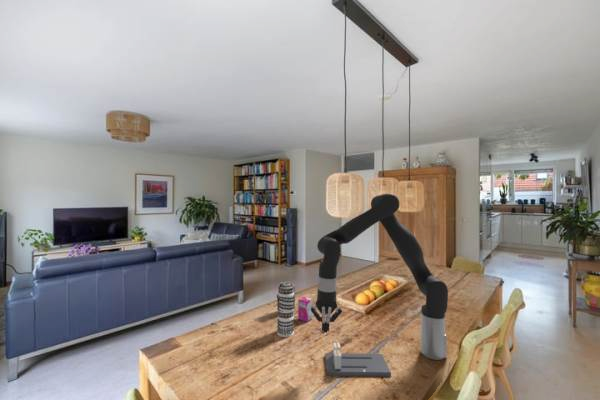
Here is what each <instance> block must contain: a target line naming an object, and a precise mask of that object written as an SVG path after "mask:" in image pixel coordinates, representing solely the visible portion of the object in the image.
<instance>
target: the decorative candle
mask: <svg viewBox="0 0 600 400" xmlns="http://www.w3.org/2000/svg"><path fill="white" fill-rule="evenodd" d="M294 285H295V284H293V283H292V282H291V281H281V282H280V284H278V285H277V287H278V288H279V291H277V294H276V299H277V301H276V302H277V303H276V305H277V306H276V307H277V312H278V314H277V319H276V320H277V324H276V325H277V326H276V331H277V335H278V336H279V337H283V338H289V337H291V336H293V335H294V334H295V316H294V308H296V302H295V303H293V302H294V301H296V295H295V296H294V291H293V290H294V288H293V287H294ZM294 298H295V299H294ZM278 304H279V305H278ZM294 305H295V307H294Z"/></svg>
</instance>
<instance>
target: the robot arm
mask: <svg viewBox="0 0 600 400" xmlns="http://www.w3.org/2000/svg"><path fill="white" fill-rule="evenodd" d="M399 208H400V199H399V198H398V197H397V195H395V194H393V193H383V194H379V195H376V196H374V197H373V198H372V199H371V203H370V208H369V209H368V210H366V211H365V212H363V213H361V214H359V215H357V216H355V217H353V218H352V219H350V220H348V221H347V222H346V223H344V224H343V225H341V226H340V227H339V228H337V229H335V230H333V231H330V232H329V233H327V234H325V235H323V236H322V237H321V238H319V240H318V242H317V250H318V251H319V253H321V254H322V255H323V260H322V261H320V262H319V266H318V267H319V268H318V279H317V292H316V293H317V294H316V302H315V304H314V305H312V306H311V312H312V315H313V316H314V317H315V319H316V320H317V321H318V322H320V323H321V331H322V332H323V333H328V332H329V331H330V323H335V321H336V320H337V319H338V318H339V316H340V315H341V314H342V313H343V309H342V308H341V307H339V306H338V303H337V289H338V286H337V285H338V280H337V277H338V276H337V275H338V274H337V273H338V271H337V270H338V265H339V261H340V257H341V251H342V249H341V248H342V247H341V245H344V244H346V245H347V244H349V243H351V242H353V240H355V239H356V238H357V237H358V236H360V235H361V234H362V233H364V232H365V231H366V230H369V228H371V227H372V226H373V225H375V224H376V223H378V222H380V223H381V225H382V226H383V227H384V229H385V231H386V233H387V234H388V236H389V238H390V240H391V241H392V243H393V244H394V247H395V249H396V250H397V252H398V254H399V255H400V257H401V259H402V260H403V262H404V264H405V265H406V266H407V267H408V269H409V271H410V272H411V274H412V276H413V279H414V281H415V283H416V285H417V287H418V288H417V289H419V292H420V293H422V294H423V295H424V296H425V298H426V299H425V304H423V305H422V306H421V309H420V311H421V312H420V315H421V316H420V317H421V318H420V319H421V321H420V353H421V354H422V356H424V357H425V358H427V359H430V360H435V361H440V360H441V361H442V360H443V359H447V358H448V356H447V355H448V354H447V353H448V348H447V347H448V340H447V338H448V336H447V334H446V330H445V329H446V312H447V310H448V303H449V302H448V300H449V299H448V298H449V289H448V286H447V284H446V283H445V282H444V281H442V280H441V279H440V278H437V277H435V276H434V274H433V273H432V272H431V271H430V269H429V268H428V266H427V264H426V262H425V257H424V252H423V249H422V246H421V245H420V243H419V241H418V239H417V237H416V236H415V235H414V234H413V232H412V231H410V230H409V229H408V228H407V227H405V225H403V224H402V223H401V222H400V221H399V220H398V219H397V216H396V215H395V213H396V212H397V211H398V210H399ZM317 310H318V311H317ZM334 311H335V312H334ZM319 312H320V314H321V315H320V314H319ZM331 314H332V315H331Z"/></svg>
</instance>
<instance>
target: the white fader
mask: <svg viewBox="0 0 600 400" xmlns="http://www.w3.org/2000/svg"><path fill="white" fill-rule="evenodd" d="M341 347H342V346H341V344H340V342H339V341H334V342H333V351H332V352H333V354H334V350H340V353H341V354H342V352H341V350H342V349H341Z"/></svg>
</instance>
